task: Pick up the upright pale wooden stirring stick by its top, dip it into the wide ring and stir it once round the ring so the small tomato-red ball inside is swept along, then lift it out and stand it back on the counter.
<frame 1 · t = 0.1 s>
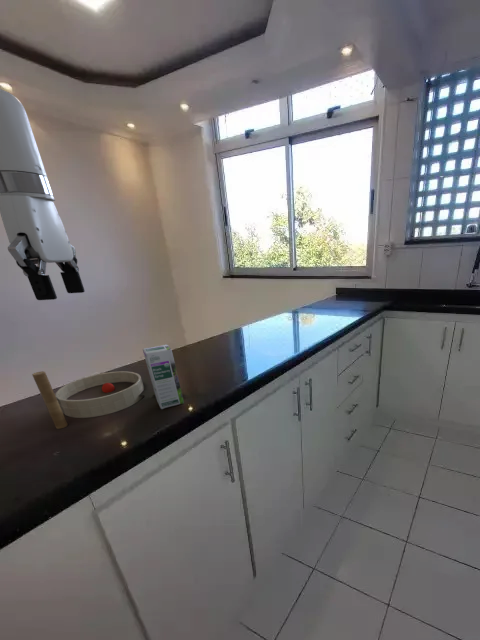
hand: (62, 295, 59), 28 cm above the table, tool pointing down, fingers open, 9 cm apart
ball: (108, 388, 84), point 2 cm above the table, touching ring
stick: (62, 426, 70), on the table
syrup box: (170, 403, 80), on the table
ring: (105, 400, 82), on the table
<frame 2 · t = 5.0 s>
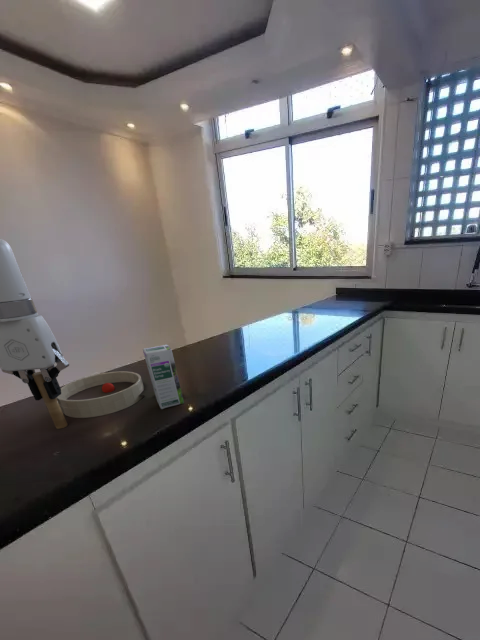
hand: (48, 396, 67), 8 cm above the table, tool pointing down, fingers closed on stick, 2 cm apart
stick: (61, 426, 70), on the table, touching gripper
everything else where it was.
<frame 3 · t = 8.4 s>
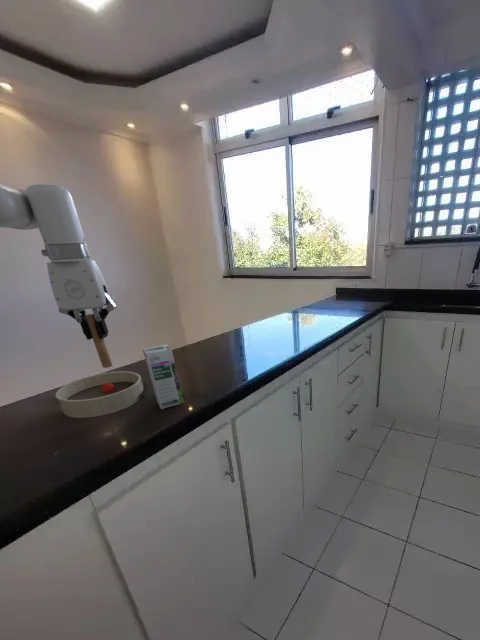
hand: (97, 337, 75), 17 cm above the table, tool pointing down, fingers closed on stick
stick: (107, 366, 79), point 9 cm above the table, touching gripper
everything else where it was.
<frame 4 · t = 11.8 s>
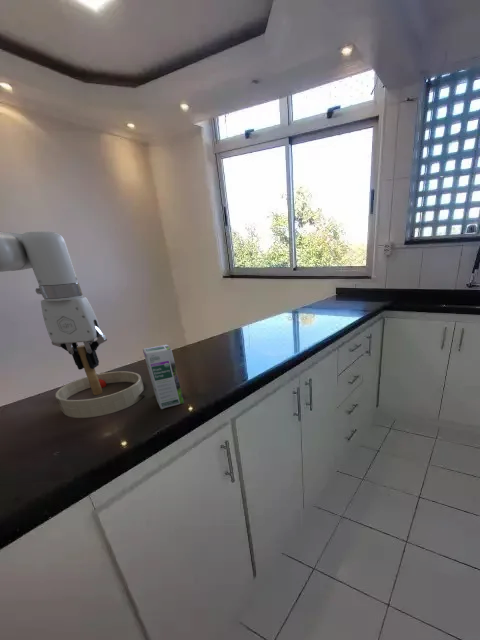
hand: (88, 366, 80), 9 cm above the table, tool pointing down, fingers closed on stick, 2 cm apart
ball: (100, 384, 87), point 2 cm above the table, tilted 169°, touching ring
stick: (98, 393, 83), point 1 cm above the table, touching gripper
everything else where it was.
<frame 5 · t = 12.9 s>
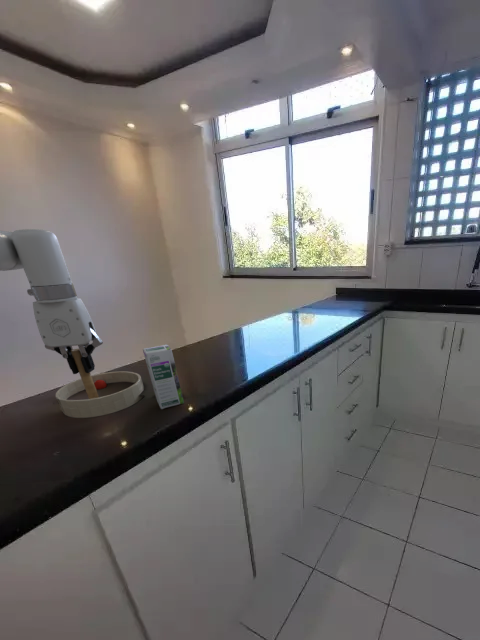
hand: (84, 371, 76), 9 cm above the table, tool pointing down, fingers closed on stick, 2 cm apart
stick: (94, 398, 80), point 2 cm above the table, touching gripper
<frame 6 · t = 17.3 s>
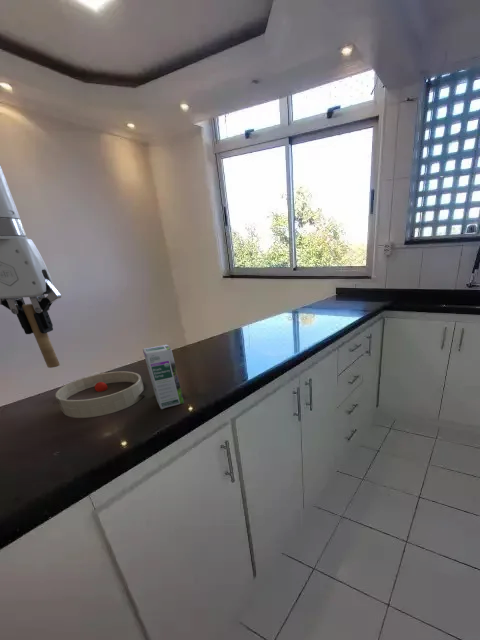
hand: (39, 331, 64), 21 cm above the table, tool pointing down, fingers closed on stick
ball: (101, 387, 85), point 2 cm above the table, tilted 87°, touching ring
stick: (53, 366, 67), point 13 cm above the table, touching gripper
everything else where it was.
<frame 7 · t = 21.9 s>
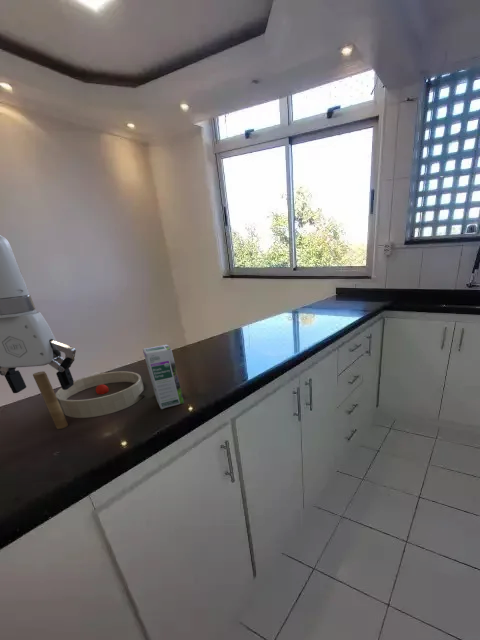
hand: (44, 388, 66), 9 cm above the table, tool pointing down, fingers open, 9 cm apart
ball: (102, 390, 83), point 2 cm above the table, touching ring
stick: (62, 426, 70), on the table
everything else where it was.
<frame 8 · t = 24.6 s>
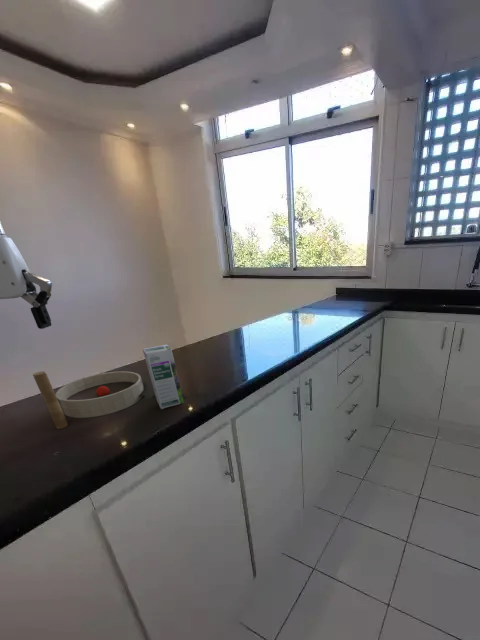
hand: (19, 328, 61), 22 cm above the table, tool pointing down, fingers open, 9 cm apart
ball: (102, 391, 82), point 2 cm above the table, tilted 49°, touching ring
everything else where it was.
at the end: ball moved 2.1 cm from its start; ball inside the target area in the ring (1.1 cm from its centre), point 2.1 cm above the ring's base; stick inside the target area (1.0 cm from its centre), on the table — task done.
